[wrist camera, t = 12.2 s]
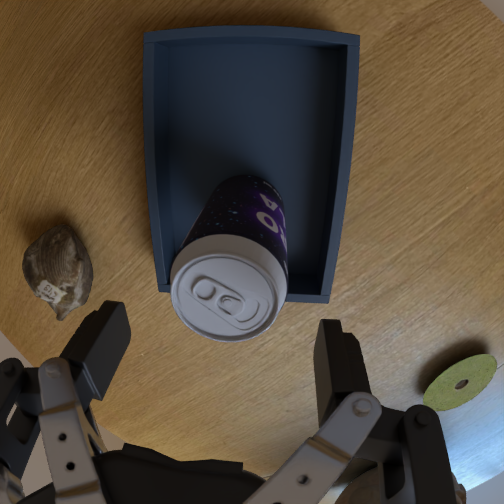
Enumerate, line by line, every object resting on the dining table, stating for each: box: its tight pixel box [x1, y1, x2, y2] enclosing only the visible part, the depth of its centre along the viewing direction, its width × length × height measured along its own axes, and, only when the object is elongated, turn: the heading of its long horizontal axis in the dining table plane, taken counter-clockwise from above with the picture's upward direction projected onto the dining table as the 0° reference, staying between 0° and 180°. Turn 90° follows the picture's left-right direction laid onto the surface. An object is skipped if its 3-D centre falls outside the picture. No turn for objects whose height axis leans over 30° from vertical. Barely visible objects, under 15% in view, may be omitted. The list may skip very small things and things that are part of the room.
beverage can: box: [170, 175, 288, 342], centre depth 19 cm, size 6×6×12 cm
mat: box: [423, 354, 497, 411], centre depth 33 cm, size 11×11×2 cm
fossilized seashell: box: [22, 224, 93, 321], centre depth 27 cm, size 8×7×10 cm
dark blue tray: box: [143, 25, 360, 304], centre depth 22 cm, size 20×14×4 cm
